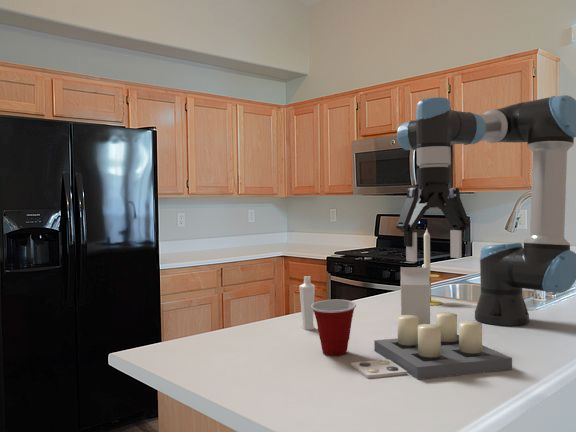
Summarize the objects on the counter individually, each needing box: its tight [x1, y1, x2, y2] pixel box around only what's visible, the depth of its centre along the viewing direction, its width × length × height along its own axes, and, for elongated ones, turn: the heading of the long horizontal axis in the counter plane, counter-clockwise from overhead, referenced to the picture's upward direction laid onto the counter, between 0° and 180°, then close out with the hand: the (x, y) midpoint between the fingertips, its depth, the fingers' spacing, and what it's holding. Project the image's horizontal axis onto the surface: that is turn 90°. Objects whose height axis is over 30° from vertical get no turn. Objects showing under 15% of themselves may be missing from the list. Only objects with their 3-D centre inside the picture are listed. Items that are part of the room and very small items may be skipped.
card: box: [351, 359, 408, 379], centre depth 112 cm, size 9×9×1 cm
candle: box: [423, 228, 443, 307], centre depth 186 cm, size 10×10×27 cm
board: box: [373, 334, 513, 380], centre depth 119 cm, size 22×22×2 cm
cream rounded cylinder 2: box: [458, 320, 483, 353], centre depth 115 cm, size 5×5×6 cm
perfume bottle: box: [298, 275, 316, 331], centre depth 151 cm, size 5×4×15 cm
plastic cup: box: [311, 298, 357, 357], centre depth 126 cm, size 11×11×12 cm
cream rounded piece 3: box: [397, 314, 419, 345], centre depth 123 cm, size 5×5×6 cm
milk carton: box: [400, 266, 431, 325], centre depth 136 cm, size 7×7×19 cm
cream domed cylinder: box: [418, 323, 441, 357], centre depth 113 cm, size 5×5×6 cm
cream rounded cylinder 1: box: [435, 311, 458, 342], centre depth 125 cm, size 5×5×6 cm
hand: (434, 259), depth 120 cm, fingers open, 13 cm apart
